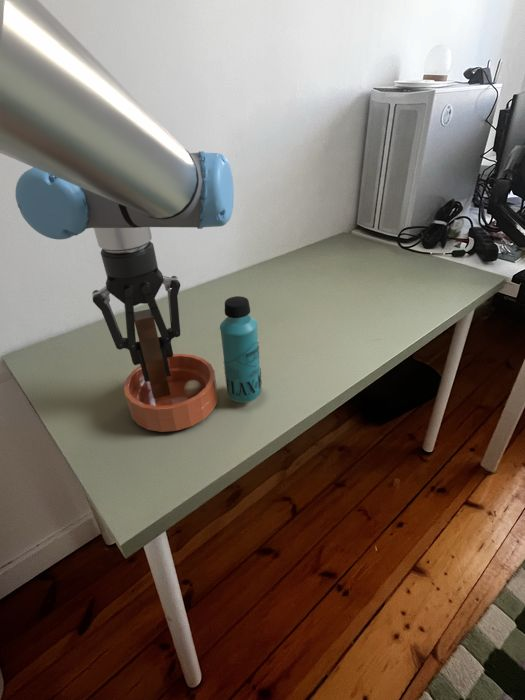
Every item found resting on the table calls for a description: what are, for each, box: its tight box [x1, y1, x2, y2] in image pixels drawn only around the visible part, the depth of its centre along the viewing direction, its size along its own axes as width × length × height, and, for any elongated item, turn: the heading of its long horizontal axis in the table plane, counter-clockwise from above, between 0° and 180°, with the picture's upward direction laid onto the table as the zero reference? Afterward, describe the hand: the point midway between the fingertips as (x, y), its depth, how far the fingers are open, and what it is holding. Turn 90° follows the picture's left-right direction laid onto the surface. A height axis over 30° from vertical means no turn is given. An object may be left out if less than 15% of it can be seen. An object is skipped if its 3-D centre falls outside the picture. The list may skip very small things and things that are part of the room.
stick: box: [134, 308, 171, 399], centre depth 73 cm, size 3×3×16 cm
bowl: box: [123, 353, 219, 433], centre depth 77 cm, size 16×16×6 cm
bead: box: [184, 380, 202, 397], centre depth 78 cm, size 3×3×3 cm
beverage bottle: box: [219, 295, 263, 403], centre depth 74 cm, size 6×7×20 cm
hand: (156, 374), depth 75 cm, fingers closed on stick, 3 cm apart
